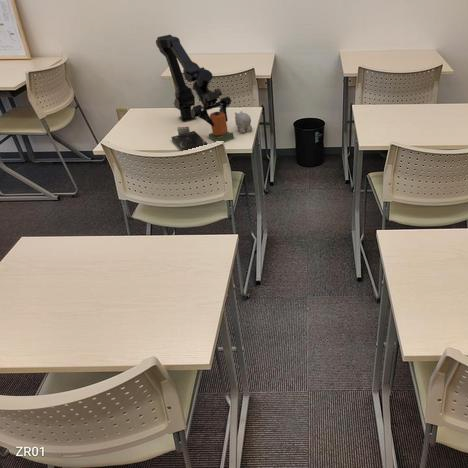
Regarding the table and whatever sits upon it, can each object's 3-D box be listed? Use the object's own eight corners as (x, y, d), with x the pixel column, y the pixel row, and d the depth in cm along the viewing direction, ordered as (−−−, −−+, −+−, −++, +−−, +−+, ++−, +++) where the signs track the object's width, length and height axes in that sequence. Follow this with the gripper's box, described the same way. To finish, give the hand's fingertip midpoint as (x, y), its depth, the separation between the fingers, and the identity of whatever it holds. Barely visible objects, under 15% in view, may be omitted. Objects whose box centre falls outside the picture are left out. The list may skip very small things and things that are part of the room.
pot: (209, 132, 218) (206, 112, 213) (222, 127, 222) (219, 108, 216) (217, 136, 214) (214, 116, 209) (230, 132, 218) (227, 112, 212)
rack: (208, 137, 220) (207, 131, 219) (223, 132, 224) (222, 126, 223) (218, 143, 215) (217, 137, 213) (233, 138, 219) (233, 132, 217)
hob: (170, 139, 221) (169, 135, 220) (193, 133, 225) (192, 129, 224) (185, 155, 207) (184, 150, 206) (209, 148, 211) (208, 144, 210)
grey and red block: (178, 136, 218) (177, 128, 216) (179, 134, 220) (178, 126, 217) (189, 136, 218) (187, 127, 215) (190, 134, 219) (188, 126, 217)
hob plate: (176, 142, 213) (176, 141, 213) (199, 136, 218) (199, 135, 217) (185, 150, 206) (184, 149, 206) (208, 144, 210) (208, 143, 210)
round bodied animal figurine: (245, 123, 233) (243, 106, 228) (254, 131, 224) (252, 114, 219) (231, 126, 230) (229, 109, 225) (239, 135, 221) (237, 117, 216)
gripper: (188, 88, 203) (206, 121, 203) (226, 78, 213) (243, 109, 212) (183, 101, 213) (200, 132, 212) (219, 91, 222) (235, 120, 222)
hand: (220, 123), depth 214 cm, fingers closed on pot, 7 cm apart
